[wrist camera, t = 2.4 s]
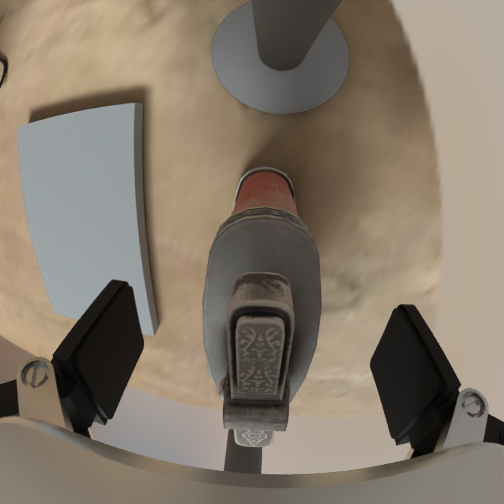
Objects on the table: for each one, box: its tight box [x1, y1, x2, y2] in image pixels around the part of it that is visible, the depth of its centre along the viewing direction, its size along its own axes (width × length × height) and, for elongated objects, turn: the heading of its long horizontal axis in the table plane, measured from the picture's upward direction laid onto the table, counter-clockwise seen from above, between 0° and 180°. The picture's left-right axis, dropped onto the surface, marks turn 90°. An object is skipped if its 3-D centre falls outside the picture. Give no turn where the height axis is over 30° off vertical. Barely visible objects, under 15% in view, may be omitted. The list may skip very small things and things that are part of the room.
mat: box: [17, 103, 159, 336], centre depth 14 cm, size 14×9×1 cm, turn 176°
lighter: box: [202, 164, 322, 447], centre depth 10 cm, size 8×3×10 cm, turn 179°
